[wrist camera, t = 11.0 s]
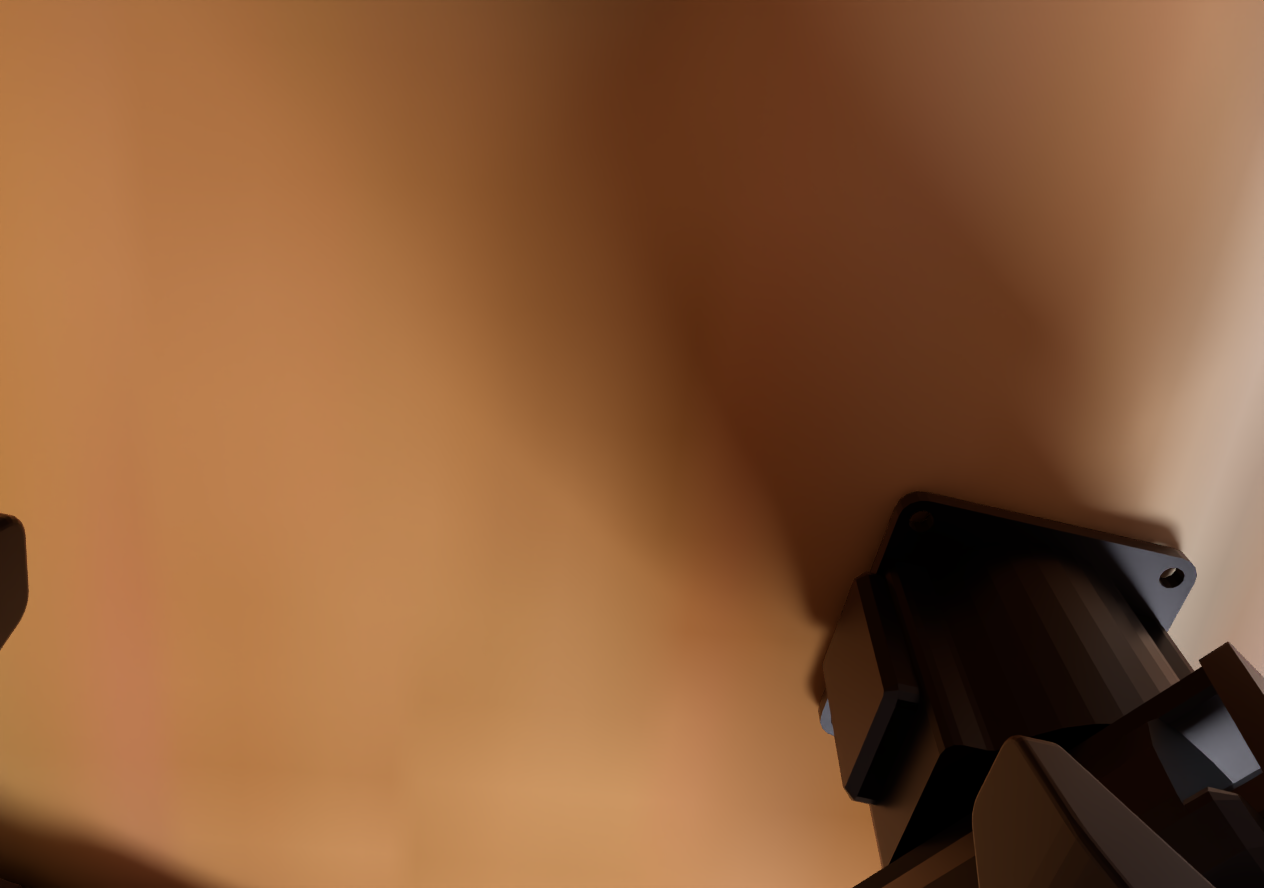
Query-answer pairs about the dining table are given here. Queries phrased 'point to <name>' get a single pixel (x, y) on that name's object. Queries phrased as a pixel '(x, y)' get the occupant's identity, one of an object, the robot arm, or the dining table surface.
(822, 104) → the dining table surface
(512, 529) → the dining table surface
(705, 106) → the dining table surface
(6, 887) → the dark knit hat
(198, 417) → the dining table surface
